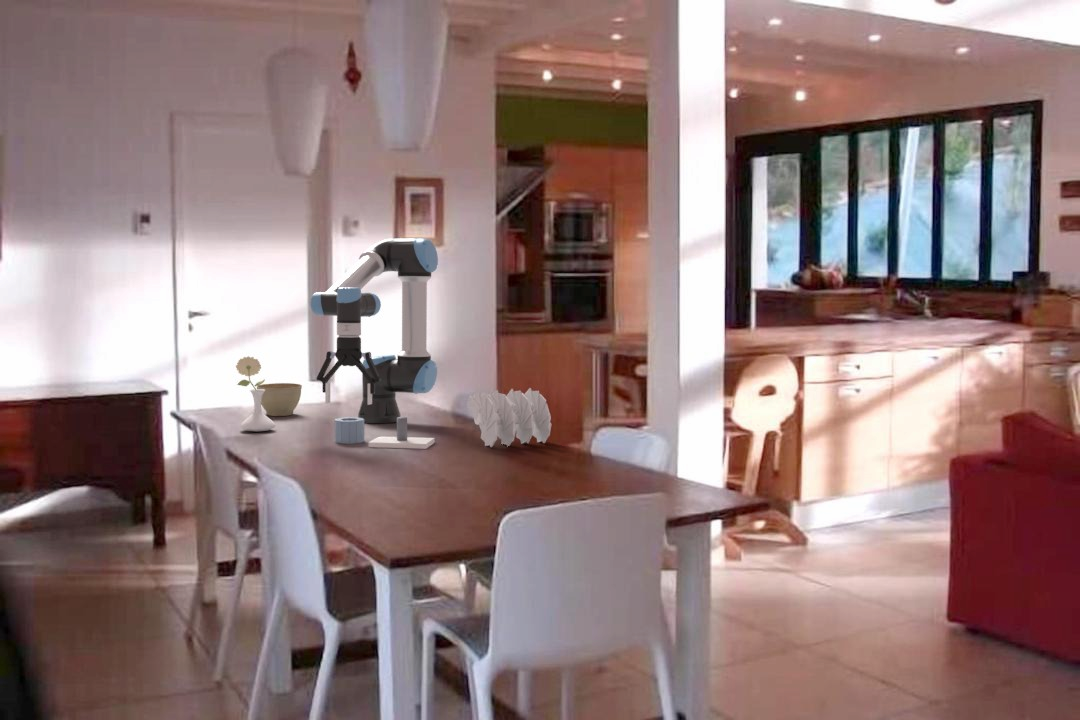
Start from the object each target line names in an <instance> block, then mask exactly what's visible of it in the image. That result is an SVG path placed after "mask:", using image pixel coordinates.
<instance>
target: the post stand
mask: <svg viewBox="0 0 1080 720" xmlns="http://www.w3.org/2000/svg"><path fill="white" fill-rule="evenodd" d="M435 440H436V439H435V437H414V436H413V437H410V436H408V417H405V416H401V417H398V418H397V422H396V436H378V437H375V438H374V439H372V440H369V441H368V448H384V449H385V448H387V449H388V448H389V449H392V448H393V449H422V450H426V449H428V448H430V447H431V446H432V445H434V444H435V443H436V442H435Z"/></svg>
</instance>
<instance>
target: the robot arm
mask: <svg viewBox="0 0 1080 720" xmlns="http://www.w3.org/2000/svg"><path fill="white" fill-rule="evenodd" d="M438 258H439V257H438V252H437V248H436V246H435V245H434V243H433V241H431V240H430V239H428V238H422V237H421V238H420V237H415V238H414V237H412V238H411V237H407V238H406V237H403V238H400V237H399V238H397V237H396V238H395V237H390V238H386V239H382V240H380V241H378V242H375V244H372V245H371V246H370V247H368V248H367V249H365V251H363V252H362V253H360V255H359V257H358V261H357V262H356V263H355V264H353V266H351V267H350V268H349V269H348V270H347V271H346V272H345V273H344V274H343V275H342V276H340V278H339V279H338V280H337V281H335V283H334V284H332V285H331V286H330V287H329V288H328V289H327V290H326V291H325V292H323V291H319V292H313V294H312V296H311V297H310V309H311V311H312V313H313V314H314V315H316V316H324V317H327V316H329V317H330V316H332V317H336V335H337V336H338V337H337V338H336V352H335V351H332V350H329V351H327V352H326V355H325V360H324V362H323V365H322V366H321V367H320V370H319V372H318V374H317V376H316V380H317V381H319V382H321V383H322V393H325V397H324V398H325V404H330V403H331V382H330V381H329V380H330V379H331V378H332V377H333V375H335V374H336V373H337V371H338V370H339V369H340V368H341V366H343V367H347V366H348V367H356V368H357V369H358V370H359V371H360V372H361V373H362V377H361V378H362V400H361V403H360V405H359V406H360V407H359V410H358V413H357V418H363V419H364V424H389V423H390V424H391V423H392V424H393V423H397V418H398V417H402V416H401V412H400V408H399V405H398V403H397V400H396V396H397V395H396V394H397V393H404V394H405V393H407V394H415V395H418V394H427V393H429V392H430V391H432V390H433V388H434V385H435V383H436V381H437V375H438V367H437V363H436V362H435V361H434V360H433V359H432V357H431V356H432V354H431V353H430V352H429V351H428V350H427V338H428V337H427V335H428V333H427V331H428V330H427V325H428V323H427V320H428V319H427V317H428V316H427V315H428V314H427V313H428V311H427V310H428V304H427V303H428V302H427V301H428V296H427V295H428V287H427V286H428V281H429V280H430V279H431V278H432V273H434V272H435V271H436V270H437V268H438V265H439V264H438V263H439V259H438ZM387 272H397V278H398V279H399V280H400V281H401V286H402V287H401V288H402V289H401V303H402V304H401V350H400V352H398V353H397V357H396V355H395V354H389V355H380V356H372V353H371V351H367V352H362V338H361V337H360V336H361V335H362V318H364V317H369V318H370V317H373V316H376V315H377V314H378V313H379V312H380V311H381V306H382V305H381V303H382V302H381V300H380V298H379V296H377V294H375V293H372V292H363V293H362V291H361V290H362V289H363V288H364V287H366V285H367V284H369V283H370V281H371V280H372V279H373V278H374V277H378V276H380V275H382V274H383V273H387ZM335 357H336V359H337V361H336V362H335V363H334V365H333V366H332V367H331V369H330V370H329V371H328V368H329V367H330V364H331V362H332V359H334V358H335ZM362 358H363V361H361V359H362ZM327 371H328V372H327ZM326 372H327V374H326ZM325 374H326V375H325Z"/></svg>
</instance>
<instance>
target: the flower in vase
mask: <svg viewBox="0 0 1080 720" xmlns="http://www.w3.org/2000/svg"><path fill="white" fill-rule="evenodd" d="M235 368H236V371H237V372H238V373H239V374H240V375H241V376H244V377H248V380H247V379H242V380H240V381H239V382H238V383H237V385H236V386H242V387H247V386H249V385H251V386H252V387H253V389H250V390H249V392H250V393H251V395H252V397H253V403H254V404H253V407H254V409H253V412H252V413H251V414H250V415H249V416H248V417H247V418H245V420H243V421H242V422H241V424H240V428H241V429H242V430H244V431H246V432H257V433H258V432H266V431H270V430H273V429H275V427H276V423H275V422H274V421H273V420H272V419H270V418H269V417H268V415H267V414H264V412H263V411H262V405H261V400H262V395H263V393H264V391H265V390H264V389H257V386H258V385H262V384H264V382H265V380H266V378H264V379H263V380H260V381H257V382H256V383H255V385H254V384H253V382H252V381H251V378H250V377H251V376H256V375H258V374H259V372H260V371H261V369H262V366H261V363H260V361H259V360H258V358H254V356H243V358H240V359H239V360H238V361H237V363H236V365H235Z"/></svg>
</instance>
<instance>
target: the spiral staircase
mask: <svg viewBox="0 0 1080 720" xmlns="http://www.w3.org/2000/svg"><path fill="white" fill-rule="evenodd" d="M466 407H467V409H468V410H469V412H470V413H471V414H472V416H473V421H474V424H475V425H477V426H479V429H480V431H481V435H480V439H481V440H482V441H483V442H484V447H488V446H489V447H490V448H493V446H494V445H495V443H496V442H497V440H498V438H499V439H500V440H501V444H502V445H503V444H504V445H506V447H507V448H508V446H509V447H510V446H511V444H512V443H513V442H514V441H515V438H516V439H519V440H520V444H521V445H524V444H529V443H530V441H531V439H532V437H534V438H536V443H541V442H542V443H543V444H545V443H546V442H547V440H548V438H549V437H550V435H551V431H552V430H551V428H552V423H551V418H552V417H551V413H550V409H549V405H548V403H547V399H546V398H545V397H544V396H543V395H542V394H541V393H540V390H532V388H531V387H529V388H528V389H527V391H525V393H524V392H522V391H521V390H515V391H514V388H511V389H510V390H509V392H508V393H507V394H504V393H500V392H499V390H498V389H496V390H495V391H494V392H493V393H492V394H490V393H488V394H487V393H480V390H477V391H475V393H474V394H473V395H469V396H468V400H467V404H466Z"/></svg>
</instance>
